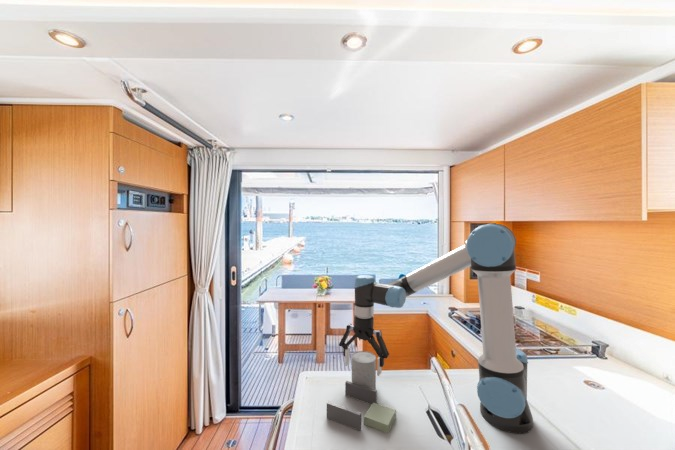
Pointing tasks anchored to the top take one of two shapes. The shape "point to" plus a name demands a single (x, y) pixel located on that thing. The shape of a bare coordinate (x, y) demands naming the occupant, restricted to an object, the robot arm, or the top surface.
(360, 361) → the grey cylindrical piece
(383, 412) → the block
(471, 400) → the top surface
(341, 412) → the parallel grey rails
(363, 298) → the robot arm
